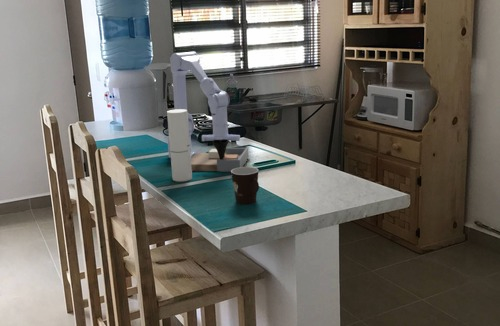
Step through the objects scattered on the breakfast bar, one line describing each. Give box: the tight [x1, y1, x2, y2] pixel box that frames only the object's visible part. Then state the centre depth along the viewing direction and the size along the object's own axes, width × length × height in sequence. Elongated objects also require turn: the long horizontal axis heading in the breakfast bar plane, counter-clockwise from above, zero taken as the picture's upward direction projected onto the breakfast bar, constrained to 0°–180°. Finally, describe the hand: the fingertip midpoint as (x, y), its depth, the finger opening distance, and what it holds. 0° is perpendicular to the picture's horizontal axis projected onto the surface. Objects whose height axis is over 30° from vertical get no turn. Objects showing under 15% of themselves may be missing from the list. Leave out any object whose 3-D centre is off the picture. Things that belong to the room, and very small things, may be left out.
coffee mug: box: [230, 166, 260, 205], centre depth 167 cm, size 12×9×10 cm
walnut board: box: [191, 152, 227, 172], centre depth 212 cm, size 13×17×2 cm
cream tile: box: [208, 148, 219, 158], centre depth 214 cm, size 5×5×2 cm
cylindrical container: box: [166, 109, 193, 182], centre depth 193 cm, size 7×7×25 cm
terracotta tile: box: [223, 155, 238, 160], centre depth 206 cm, size 5×5×2 cm
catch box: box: [216, 147, 249, 173], centre depth 210 cm, size 9×19×4 cm, turn 170°
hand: (222, 158), depth 207 cm, fingers closed
